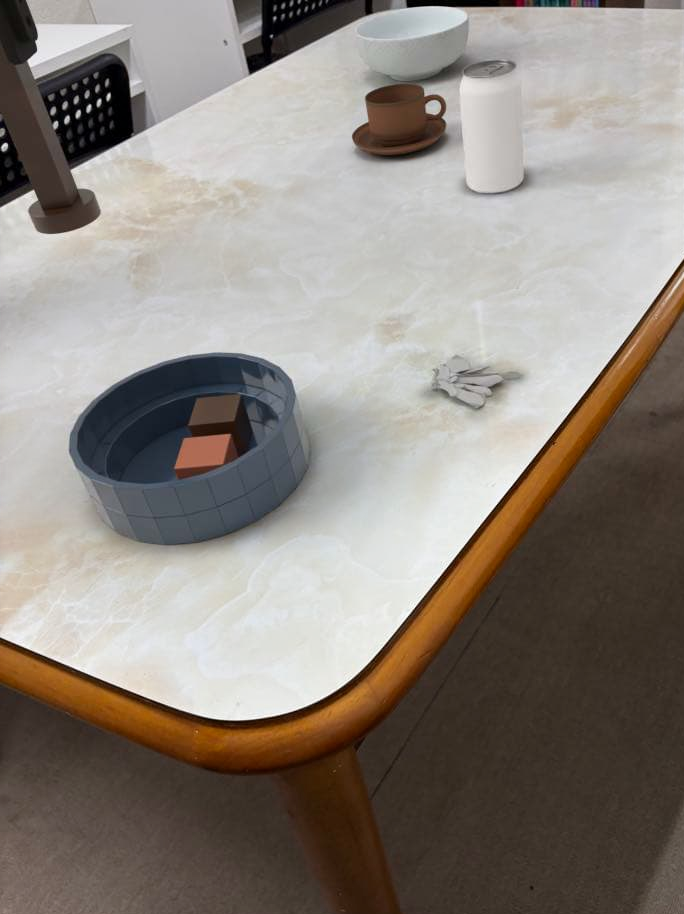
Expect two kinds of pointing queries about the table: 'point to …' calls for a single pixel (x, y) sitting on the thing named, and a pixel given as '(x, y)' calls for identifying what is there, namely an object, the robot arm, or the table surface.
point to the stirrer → (42, 154)
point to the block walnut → (222, 420)
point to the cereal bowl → (413, 41)
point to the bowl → (160, 439)
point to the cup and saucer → (399, 120)
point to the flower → (467, 380)
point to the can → (492, 126)
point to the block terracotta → (204, 455)
